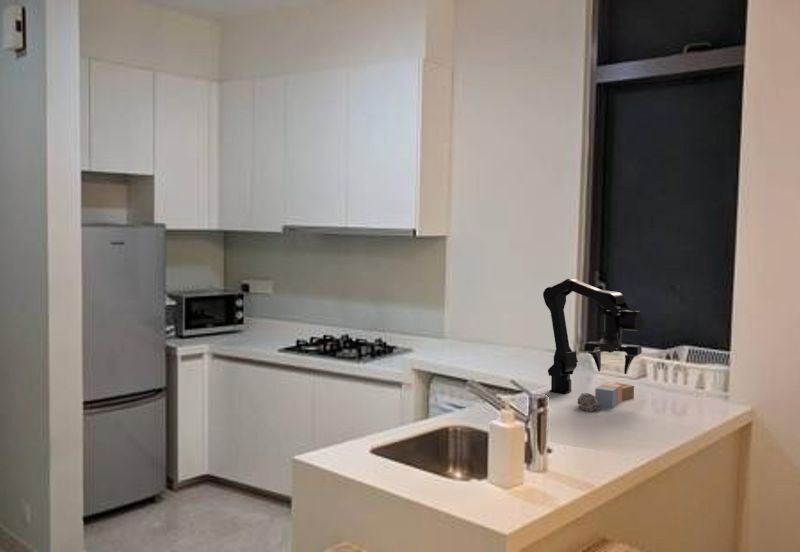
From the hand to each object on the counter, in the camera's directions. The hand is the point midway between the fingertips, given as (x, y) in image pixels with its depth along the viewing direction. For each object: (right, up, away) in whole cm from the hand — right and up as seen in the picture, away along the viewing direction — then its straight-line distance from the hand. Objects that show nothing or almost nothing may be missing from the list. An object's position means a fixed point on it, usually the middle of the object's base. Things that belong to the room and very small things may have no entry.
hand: (612, 372), depth 253 cm
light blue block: (-3, -11, -4) cm, 12 cm away
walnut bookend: (+4, -10, +7) cm, 13 cm away
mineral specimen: (-10, -11, -8) cm, 18 cm away
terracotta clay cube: (0, -11, +1) cm, 11 cm away
